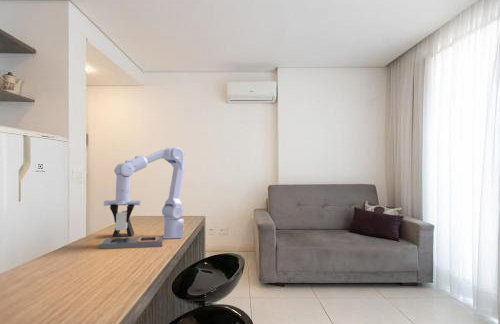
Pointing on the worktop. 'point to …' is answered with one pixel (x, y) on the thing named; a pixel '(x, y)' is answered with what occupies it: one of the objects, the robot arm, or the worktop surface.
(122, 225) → the block
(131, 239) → the rail plate
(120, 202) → the robot arm
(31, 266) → the worktop surface
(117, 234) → the phone stand
